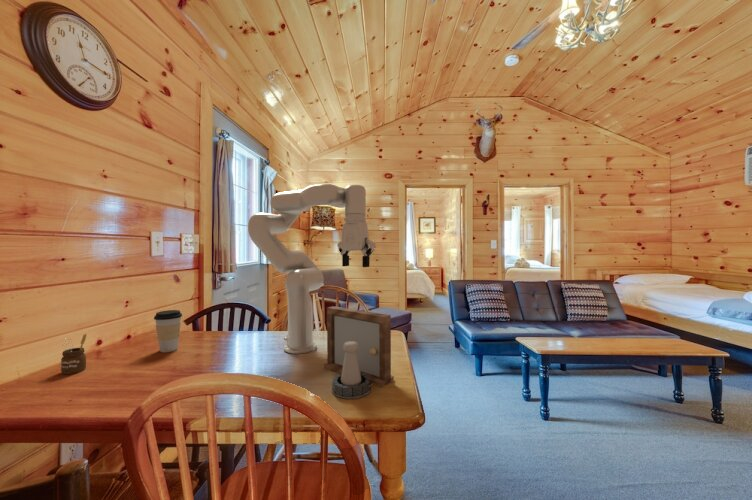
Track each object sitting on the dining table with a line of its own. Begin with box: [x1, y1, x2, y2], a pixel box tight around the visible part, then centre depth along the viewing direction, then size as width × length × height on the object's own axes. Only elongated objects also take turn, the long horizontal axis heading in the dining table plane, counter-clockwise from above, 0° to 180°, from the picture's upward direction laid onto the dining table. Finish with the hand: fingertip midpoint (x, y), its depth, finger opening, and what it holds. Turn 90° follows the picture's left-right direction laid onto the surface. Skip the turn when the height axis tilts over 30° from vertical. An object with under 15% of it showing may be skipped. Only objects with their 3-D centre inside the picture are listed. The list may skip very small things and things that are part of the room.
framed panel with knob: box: [323, 305, 395, 388], centre depth 99 cm, size 24×6×20 cm, turn 53°
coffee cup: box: [153, 309, 183, 353], centre depth 123 cm, size 9×9×15 cm
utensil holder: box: [60, 333, 87, 375], centre depth 102 cm, size 6×6×12 cm
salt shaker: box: [341, 341, 361, 386], centre depth 88 cm, size 6×6×13 cm
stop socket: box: [331, 373, 372, 400], centre depth 88 cm, size 11×11×3 cm
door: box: [334, 315, 380, 377], centre depth 99 cm, size 19×3×16 cm, turn 53°
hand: (355, 266), depth 114 cm, fingers open, 9 cm apart
